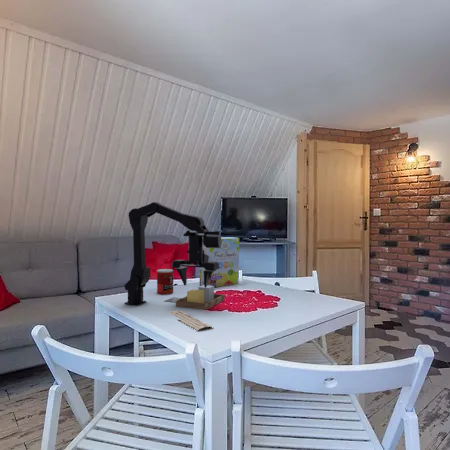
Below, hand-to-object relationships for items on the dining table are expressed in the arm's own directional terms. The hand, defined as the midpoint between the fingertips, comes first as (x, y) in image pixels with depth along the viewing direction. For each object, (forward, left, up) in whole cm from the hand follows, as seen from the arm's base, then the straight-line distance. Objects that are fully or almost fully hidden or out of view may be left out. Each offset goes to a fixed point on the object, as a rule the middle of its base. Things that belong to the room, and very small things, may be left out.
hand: (195, 286), depth 142 cm
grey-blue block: (+10, 0, -8) cm, 13 cm away
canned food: (+19, +26, -9) cm, 33 cm away
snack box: (+48, +10, -9) cm, 49 cm away
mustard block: (0, 0, -8) cm, 8 cm away
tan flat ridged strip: (-18, -7, -9) cm, 21 cm away
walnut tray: (+5, 0, -9) cm, 10 cm away
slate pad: (+5, +11, -9) cm, 15 cm away
